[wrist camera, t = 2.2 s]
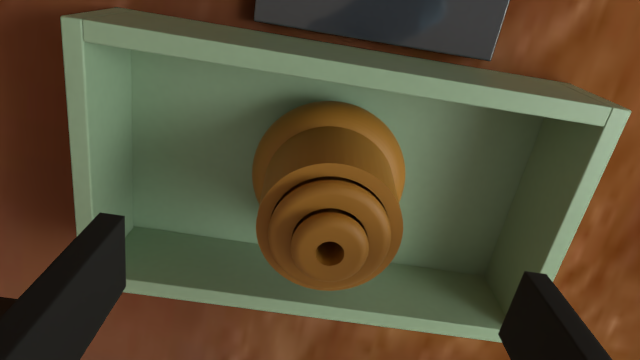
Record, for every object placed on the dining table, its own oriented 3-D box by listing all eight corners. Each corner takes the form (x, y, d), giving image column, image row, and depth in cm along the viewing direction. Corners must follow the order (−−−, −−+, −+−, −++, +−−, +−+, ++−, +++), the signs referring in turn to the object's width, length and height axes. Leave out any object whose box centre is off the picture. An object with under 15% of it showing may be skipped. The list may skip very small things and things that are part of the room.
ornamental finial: (425, 188, 24) (305, 250, 25) (355, 65, 21) (227, 143, 23) (470, 283, 16) (297, 361, 18) (371, 112, 14) (180, 223, 15)
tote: (570, 83, 22) (632, 110, 17) (491, 285, 27) (523, 345, 22) (116, 7, 20) (58, 15, 16) (122, 233, 25) (79, 286, 21)
